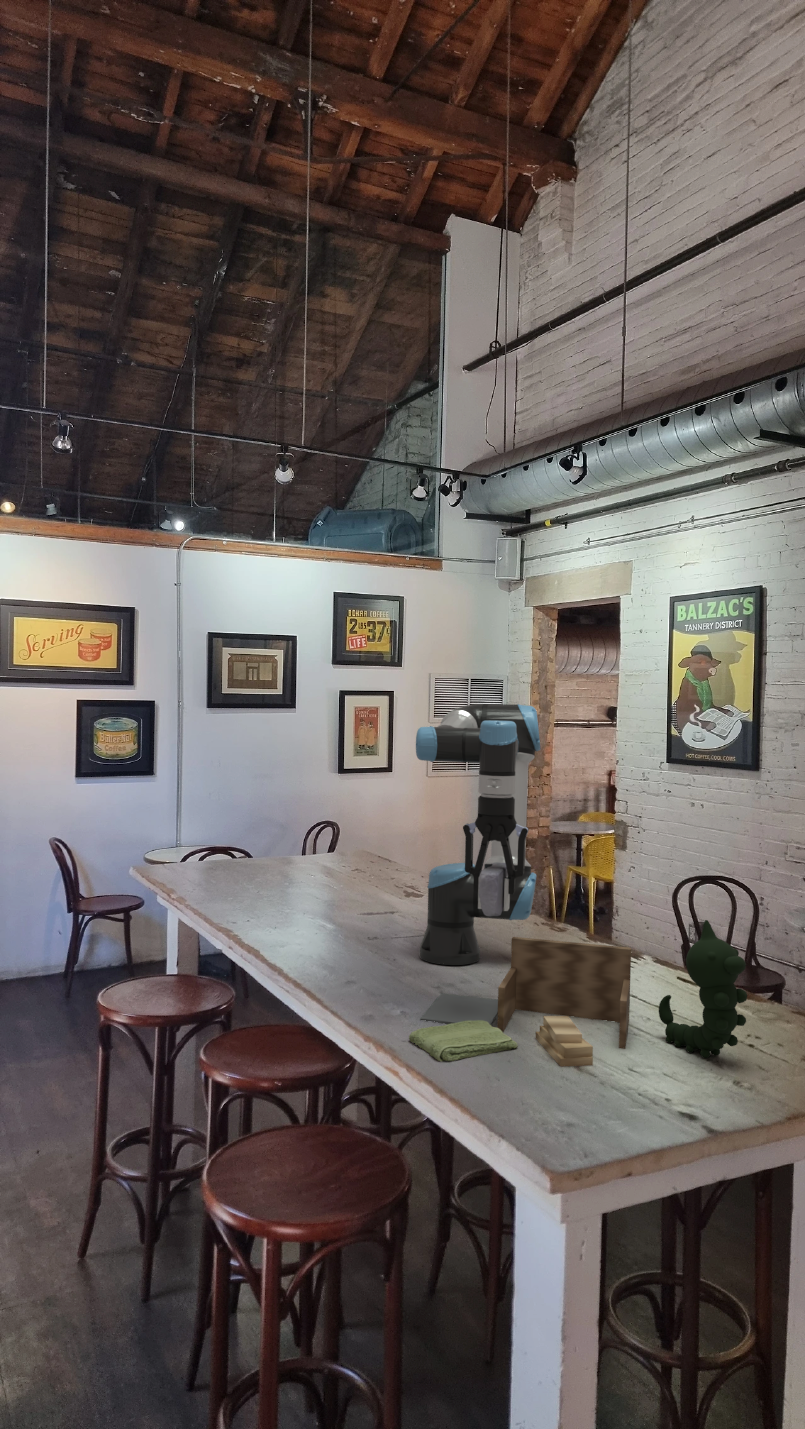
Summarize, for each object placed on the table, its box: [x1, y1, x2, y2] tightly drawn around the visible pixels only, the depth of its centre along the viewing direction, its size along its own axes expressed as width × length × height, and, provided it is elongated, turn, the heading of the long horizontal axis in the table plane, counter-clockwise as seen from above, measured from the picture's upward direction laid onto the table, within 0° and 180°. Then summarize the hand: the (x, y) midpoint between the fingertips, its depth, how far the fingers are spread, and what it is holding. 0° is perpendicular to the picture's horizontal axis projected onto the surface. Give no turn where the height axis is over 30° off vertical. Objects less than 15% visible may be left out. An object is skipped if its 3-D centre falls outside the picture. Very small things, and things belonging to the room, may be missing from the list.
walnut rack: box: [496, 936, 632, 1050], centre depth 187 cm, size 24×16×15 cm, turn 74°
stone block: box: [478, 862, 508, 917], centre depth 192 cm, size 12×5×10 cm, turn 158°
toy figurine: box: [658, 919, 748, 1059], centre depth 175 cm, size 9×19×25 cm, turn 31°
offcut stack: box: [535, 1015, 594, 1067], centre depth 173 cm, size 14×6×5 cm, turn 10°
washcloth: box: [408, 1020, 519, 1063], centre depth 175 cm, size 13×18×3 cm
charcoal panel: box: [419, 992, 498, 1026], centre depth 194 cm, size 14×18×1 cm
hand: (493, 908), depth 192 cm, fingers closed on stone block, 5 cm apart
